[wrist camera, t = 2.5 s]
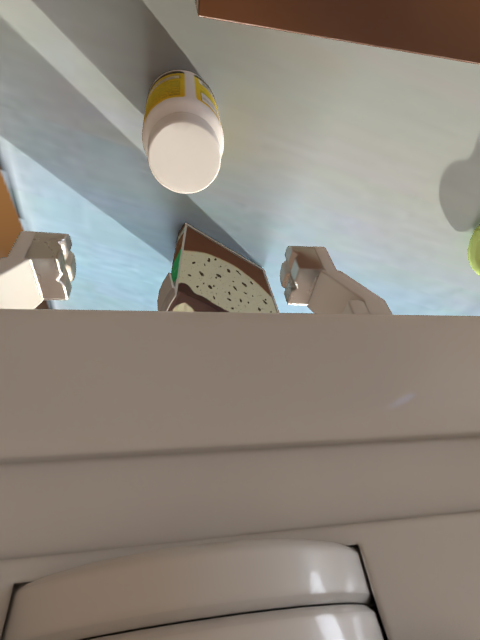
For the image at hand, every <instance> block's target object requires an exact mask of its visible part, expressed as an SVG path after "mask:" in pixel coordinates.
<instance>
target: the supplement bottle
mask: <svg viewBox="0 0 480 640" xmlns="http://www.w3.org/2000/svg"><path fill="white" fill-rule="evenodd" d="M142 141H143V147H144V150H145V153H146V155H147V158H148V164H149V167H150V170H151V172H152V174H153V175H154V177H155V178H156V179H157V180H158V182H159V183H160V184H161V185H163V186H164V187H166V188H167V189H169V190H171V191H174V192H177V193H183V194H189V193H195V192H198V191H201V190H203V189H205V188H206V187H208V186H209V185H210V184H211V183H212V182H213V181H214V179H215V178H216V176H217V174H218V172H219V169H220V164H221V156H222V153H223V148H224V135H223V130H222V126H221V122H220V118H219V113H218V110H217V106H216V102H215V98H214V95H213V93H212V91H211V89H210V87H209V86H208V85H207V83H206V82H205V81H204V80H203V79H202V78H201V77H199V76H198V75H196V74H194V73H192V72H190V71H186V70H172V71H168V72H166V73H164V74H162V75H161V76H159V77H158V78H157V79H156V80H155V82H154V83H153V84H152V86H151V88H150V90H149V93H148V97H147V102H146V110H145V116H144V123H143V130H142Z"/></svg>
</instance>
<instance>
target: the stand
mask: <svg viewBox="0 0 480 640" xmlns="http://www.w3.org/2000/svg"><path fill="white" fill-rule="evenodd" d="M195 3H196V9H197V13H198V16H199V17H204V18H210V19H216V20H222V21H227V22H233V23H239V24H245V25H251V26H257V27H263V28H269V29H274V30H280V31H286V32H292V33H298V34H304V35H310V36H315V37H321V38H327V39H333V40H339V41H345V42H351V43H356V44H362V45H368V46H374V47H380V48H386V49H392V50H398V51H403V52H409V53H415V54H421V55H427V56H433V57H439V58H444V59H450V60H456V61H462V62H468V63H474V64H480V0H195Z"/></svg>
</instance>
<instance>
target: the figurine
mask: <svg viewBox="0 0 480 640" xmlns="http://www.w3.org/2000/svg"><path fill="white" fill-rule="evenodd" d="M468 260H469V263H470V265H471V267H472V269H473V270H474V271H475V272H476V273H477V274H478V275H480V225H479V226H478V227H477V228H476V229H475V231H474V233H473V235H472V237H471V239H470V243H469V247H468Z"/></svg>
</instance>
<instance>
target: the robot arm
mask: <svg viewBox="0 0 480 640" xmlns="http://www.w3.org/2000/svg"><path fill="white" fill-rule="evenodd" d="M71 246H72V242H71V238H70V236H69V235H68V234H60V233H47V232H32V231H22V232H20V234H19V236H18V237H17V239H16V241H15V243H14V245H13V247H12V249H11V251H10V253H9V255H8V257H7V258H5V257H2V258H0V640H480V316H434V315H393V314H392V312H391V311H390V309H389V307H388V305H387V304H386V302H385V300H383V299H382V298H380V297H379V296H377V295H376V294H374V293H373V292H371V291H370V290H368V289H367V288H365V287H364V286H362V285H361V284H359V283H358V282H356V281H355V280H353V279H352V278H350V277H349V276H347V275H346V274H344V273H343V272H341V271H337V270H336V268H335V266H334V264H333V262H332V260H331V258H330V256H329V254H328V252H327V250H326V248H325V247H303V246H288V247H287V249H286V252H285V257H286V261H285V262H284V263H282V266H281V271H280V281H281V285H282V287H284V288H285V292H284V295H285V298H286V301H287V304H288V305H307V307H308V308H309V309H310V310H311V311H312V312H314V313H315V314H310V313H245V312H181V311H117V310H54V309H34V308H36V307H37V306H38V305H39V304H40V303H41V302H43V300H68V298H69V295H70V292H71V288H72V287H71V283H70V282H71V281H73V280H74V278H75V274H76V262H75V256H74V254H73V253H72V252H71V251H70V249H71Z"/></svg>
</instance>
